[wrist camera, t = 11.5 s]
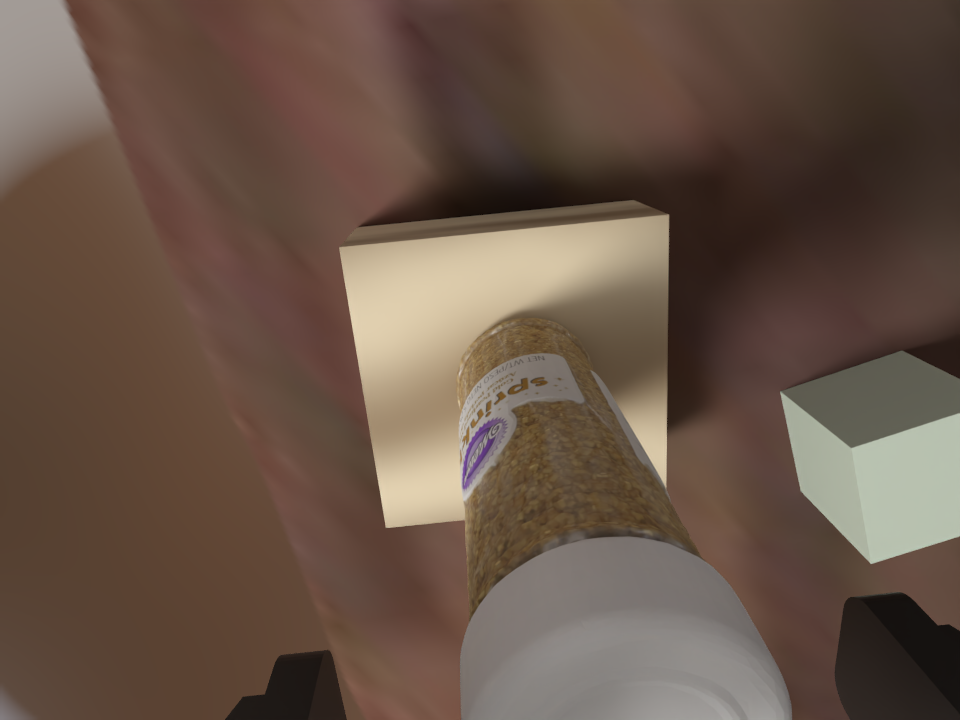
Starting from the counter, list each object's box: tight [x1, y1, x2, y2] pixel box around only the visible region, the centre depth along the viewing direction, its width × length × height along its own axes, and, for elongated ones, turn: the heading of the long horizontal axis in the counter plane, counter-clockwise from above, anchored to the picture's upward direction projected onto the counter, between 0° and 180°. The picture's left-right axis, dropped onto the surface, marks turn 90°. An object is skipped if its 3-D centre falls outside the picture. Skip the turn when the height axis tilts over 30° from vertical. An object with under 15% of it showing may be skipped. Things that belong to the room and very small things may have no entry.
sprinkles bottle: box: [456, 318, 792, 720], centre depth 15 cm, size 5×5×14 cm
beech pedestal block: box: [339, 200, 669, 528], centre depth 23 cm, size 10×10×4 cm
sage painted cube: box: [780, 351, 960, 564], centre depth 25 cm, size 5×5×5 cm
